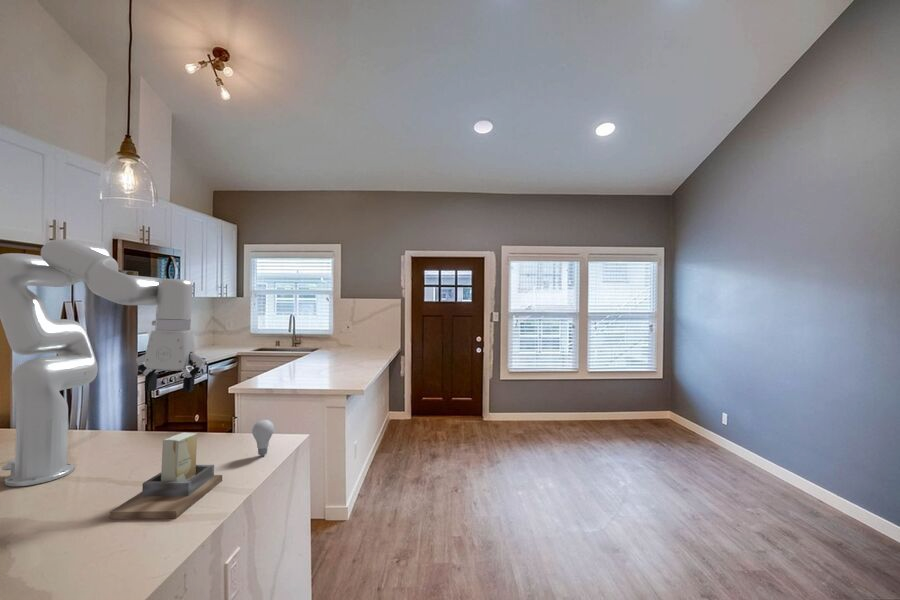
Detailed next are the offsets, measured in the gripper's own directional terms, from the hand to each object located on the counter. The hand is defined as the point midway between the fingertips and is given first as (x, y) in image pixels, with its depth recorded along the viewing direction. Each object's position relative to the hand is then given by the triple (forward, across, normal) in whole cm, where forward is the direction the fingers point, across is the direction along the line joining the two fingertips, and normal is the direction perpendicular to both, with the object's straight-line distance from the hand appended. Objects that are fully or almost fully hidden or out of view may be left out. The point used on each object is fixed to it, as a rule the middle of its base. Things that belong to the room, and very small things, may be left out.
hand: (169, 391), depth 100 cm
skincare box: (+22, +7, -5) cm, 24 cm away
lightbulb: (+23, +17, +18) cm, 34 cm away
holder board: (+24, +8, -8) cm, 26 cm away
